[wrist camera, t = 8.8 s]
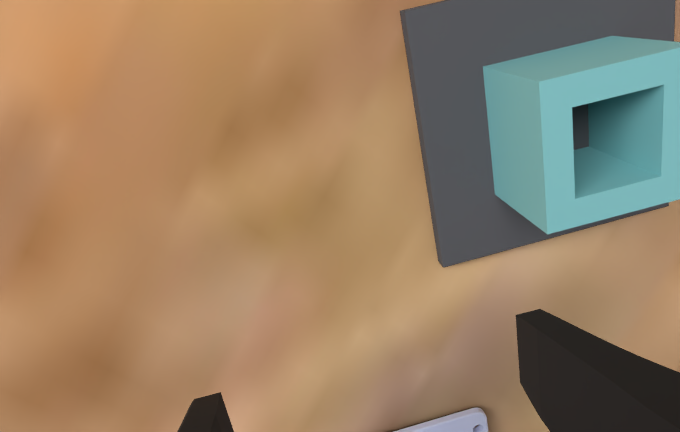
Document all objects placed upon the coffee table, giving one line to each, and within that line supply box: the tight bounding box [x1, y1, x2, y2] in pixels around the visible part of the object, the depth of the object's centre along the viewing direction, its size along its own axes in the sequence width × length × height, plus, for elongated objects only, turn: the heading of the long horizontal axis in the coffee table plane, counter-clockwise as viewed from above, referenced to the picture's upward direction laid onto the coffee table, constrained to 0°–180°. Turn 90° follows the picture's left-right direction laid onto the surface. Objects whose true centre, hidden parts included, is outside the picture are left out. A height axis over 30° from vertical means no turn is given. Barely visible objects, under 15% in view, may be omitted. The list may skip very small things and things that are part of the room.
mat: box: [400, 0, 675, 267], centre depth 21 cm, size 10×10×1 cm
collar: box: [483, 36, 680, 234], centre depth 19 cm, size 5×5×4 cm
